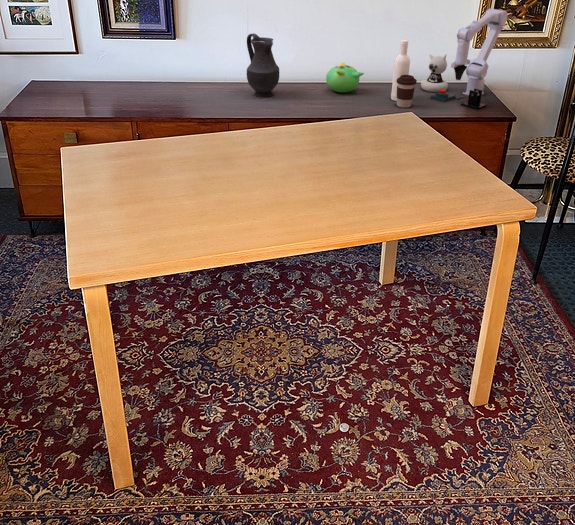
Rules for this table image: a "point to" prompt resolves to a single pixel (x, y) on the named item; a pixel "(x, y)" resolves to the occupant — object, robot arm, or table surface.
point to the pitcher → (261, 66)
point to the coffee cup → (405, 90)
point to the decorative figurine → (435, 75)
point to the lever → (465, 96)
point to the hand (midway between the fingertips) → (458, 79)
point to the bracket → (474, 100)
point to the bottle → (400, 67)
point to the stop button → (442, 91)
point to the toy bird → (343, 78)
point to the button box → (442, 96)
